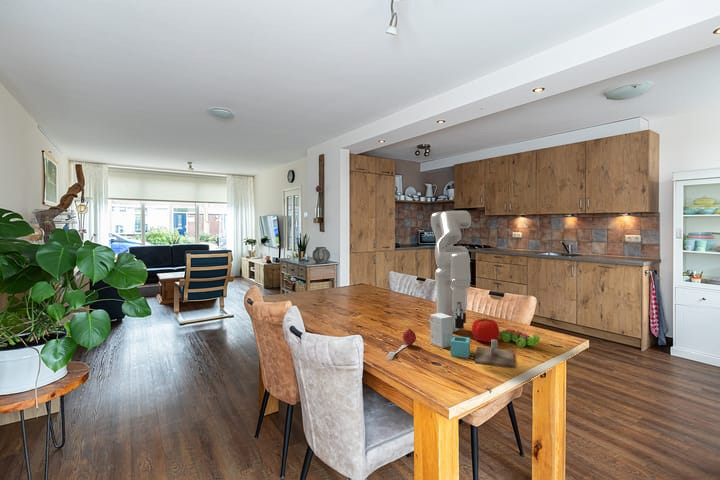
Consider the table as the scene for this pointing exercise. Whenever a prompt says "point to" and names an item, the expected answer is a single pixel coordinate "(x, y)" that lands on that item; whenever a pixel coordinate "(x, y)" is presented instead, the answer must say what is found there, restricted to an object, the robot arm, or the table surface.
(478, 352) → the post board
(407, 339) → the onion
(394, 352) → the fork
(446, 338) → the small box
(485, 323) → the tomato
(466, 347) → the bead
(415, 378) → the table surface
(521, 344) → the toy crocodile
